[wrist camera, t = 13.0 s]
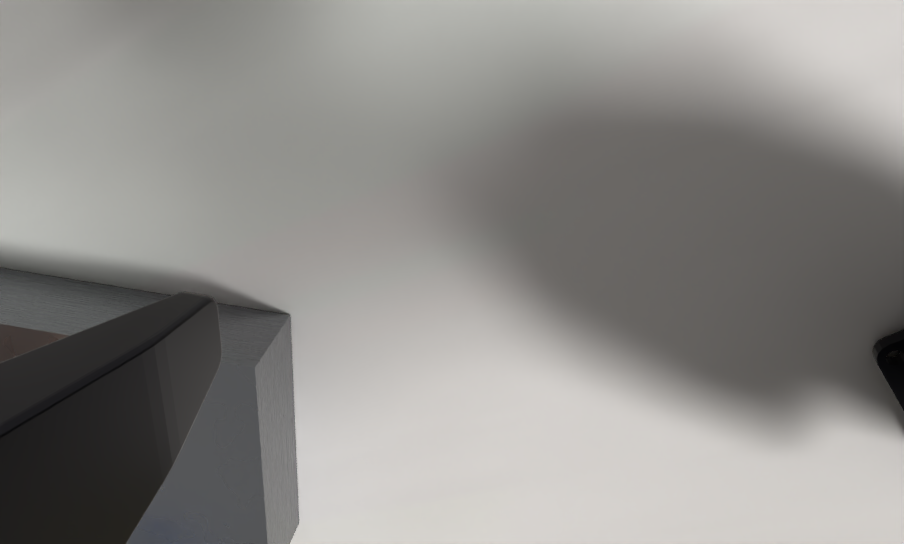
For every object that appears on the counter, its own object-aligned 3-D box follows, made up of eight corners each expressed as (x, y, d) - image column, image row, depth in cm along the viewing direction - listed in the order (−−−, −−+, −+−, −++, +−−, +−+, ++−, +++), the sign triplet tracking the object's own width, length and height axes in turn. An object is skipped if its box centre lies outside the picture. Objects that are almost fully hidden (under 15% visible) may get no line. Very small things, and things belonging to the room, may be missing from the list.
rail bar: (290, 315, 26) (254, 367, 23) (298, 523, 31) (270, 585, 28) (-134, 245, 28) (-210, 287, 25) (-61, 452, 33) (-118, 504, 30)
